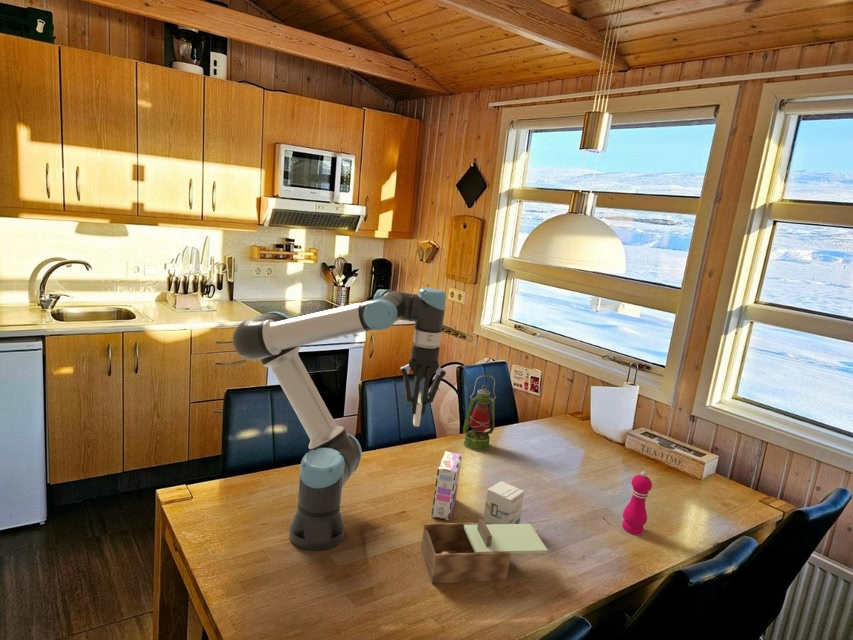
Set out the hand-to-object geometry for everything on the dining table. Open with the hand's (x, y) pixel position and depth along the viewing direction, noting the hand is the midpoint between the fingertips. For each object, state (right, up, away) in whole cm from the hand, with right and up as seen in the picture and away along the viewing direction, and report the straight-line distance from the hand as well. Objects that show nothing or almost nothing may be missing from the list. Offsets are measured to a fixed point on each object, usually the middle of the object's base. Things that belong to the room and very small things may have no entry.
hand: (416, 424), depth 160 cm
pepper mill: (+68, -37, +19) cm, 80 cm away
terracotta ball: (+8, -35, -11) cm, 38 cm away
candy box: (+8, -30, +19) cm, 36 cm away
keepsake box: (+12, -36, -10) cm, 40 cm away
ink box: (+26, -33, +14) cm, 44 cm away
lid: (+24, -29, -9) cm, 39 cm away
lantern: (+23, -22, +69) cm, 76 cm away
